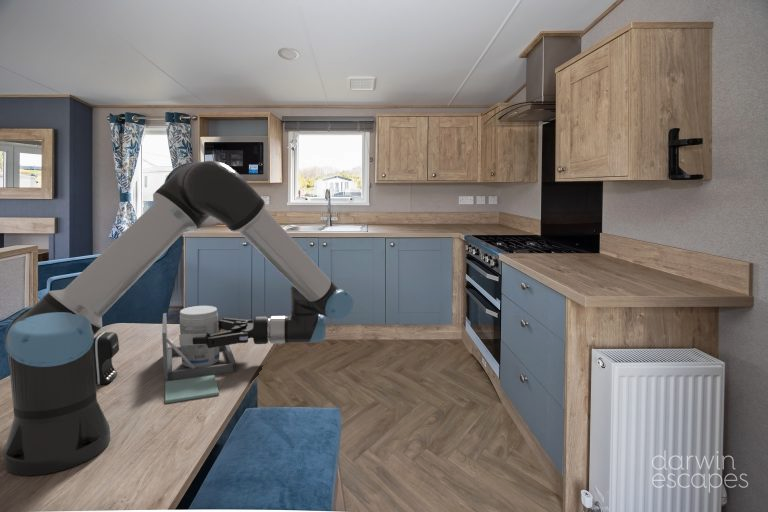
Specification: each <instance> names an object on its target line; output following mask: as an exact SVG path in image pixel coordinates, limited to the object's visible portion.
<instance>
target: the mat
mask: <svg viewBox="0 0 768 512" xmlns="http://www.w3.org/2000/svg"><path fill="white" fill-rule="evenodd" d="M164 382H165V385H164V386H165V387H164V388H165V391H164V394H165V395H164V404H170V403H175V402H181V401H188V400H194V399H200V398H207V397H215V396H219V395H220V392H219V387H218V383H217V380H216V374H213V375H206V376H198V377H191V378H184V379H177V380H169V381H164Z"/></svg>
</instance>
